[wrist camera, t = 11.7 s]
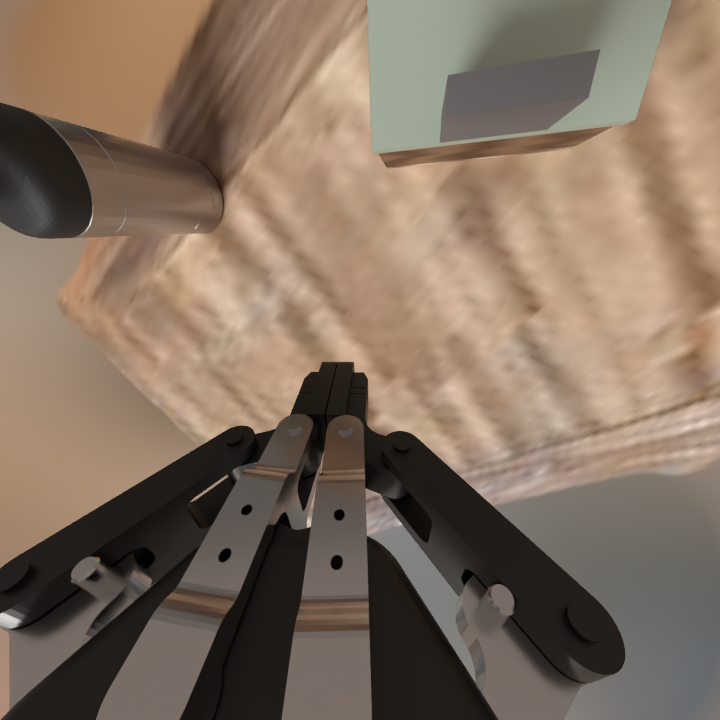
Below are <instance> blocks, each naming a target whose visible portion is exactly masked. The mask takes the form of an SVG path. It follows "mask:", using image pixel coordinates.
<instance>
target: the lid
mask: <svg viewBox="0 0 720 720" xmlns="http://www.w3.org/2000/svg"><path fill="white" fill-rule="evenodd" d="M671 2H672V0H367V5H368V40H369V76H370V112H371V147H372V152H373V154H380V153H389V152H397V151H406V150H414V149H423V148H431V147H439V146H448V145H456V144H465V143H473V142H482V141H490V140H499V139H507V138H516V137H524V136H533V135H541V134H549V133H558V132H566V131H575V130H583V129H592V128H600V127H609V126H617V125H625V124H627V123H629V122H631V121H633V120H635V119H636V116H637V113H638V110H639V106H640V103H641V100H642V97H643V93H644V90H645V87H646V84H647V80H648V77H649V74H650V71H651V67H652V64H653V61H654V58H655V54H656V51H657V48H658V45H659V41H660V38H661V35H662V32H663V28H664V25H665V22H666V19H667V15H668V12H669V9H670V6H671Z"/></svg>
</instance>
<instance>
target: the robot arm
mask: <svg viewBox="0 0 720 720" xmlns="http://www.w3.org/2000/svg"><path fill="white" fill-rule="evenodd" d="M222 212H223V200H222V194H221V191H220V188H219V186H218V184H217V181H216V179H215V178H214V176H213V175H212V173H211V172H210V171H209V170H208V169H207V168H206V167H205V166H204V165H203V164H201V163H200V162H199V161H197V160H194V159H192V158H189V157H185V156H182V155H179V154H175V153H172V152H169V151H165V150H162V149H159V148H155V147H152V146H148V145H145V144H141V143H138V142H134V141H131V140H127V139H124V138H121V137H117V136H114V135H110V134H107V133H103V132H99V131H96V130H93V129H89V128H86V127H82V126H79V125H76V124H72V123H69V122H65V121H61V120H58V119H54V118H51V117H48V116H44V115H40V114H37V113H33V112H30V111H26V110H24V109H21V108H17V107H13V106H10V105H7V104H3V103H0V222H2V223H3V224H5V225H6V226H8V227H10V228H11V229H13V230H15V231H17V232H20V233H22V234H24V235H28V236H32V237H37V238H49V239H50V238H51V239H52V238H81V237H105V236H135V235H165V234H195V233H207V232H210V231H212V230H213V229H215V228H216V226H217V225H218V224H219V222H220V220H221V217H222ZM367 415H368V379H367V377H366V375H365V374H364V373H355V372H354V362H322V364H321V367H320V370H319V372H311V373H310V374H309V375H308V376H307V377H305V379H304V381H303V384H302V387H301V389H300V391H299V394H298V396H297V399H296V401H295V404H294V407H293V409H292V412H291V414H290V416H287V417H285V418H284V419H283V420H281V421H280V423H279V424H278V426H277V427H276V429H274V430H271V431H267V432H262V433H258V434H255V433H254V431H253V429H251V428H250V427H248V426H236V427H233V428H230V429H228V430H226V431H225V432H223V433H221V434H220V435H218V436H216V437H215V438H213V439H211V440H210V441H208V442H206V443H205V444H203V445H201V446H200V447H198V448H196V449H195V450H193V451H191V452H190V453H188V454H186V455H185V456H183V457H181V458H180V459H178V460H176V461H175V462H173V463H172V464H170V465H168V466H167V467H165V468H163V469H162V470H160V471H158V472H157V473H155V474H153V475H152V476H150V477H148V478H147V479H145V480H143V481H142V482H140V483H138V484H137V485H135V486H133V487H132V488H130V489H128V490H127V491H125V492H123V493H122V494H120V495H119V496H117V497H115V498H113V499H112V500H110V501H108V502H107V503H105V504H103V505H102V506H100V507H98V508H97V509H95V510H94V511H92V512H90V513H89V514H87V515H85V516H83V517H82V518H80V519H79V520H77V521H75V522H74V523H72V524H70V525H69V526H67V527H65V528H64V529H62V530H60V531H59V532H57V533H55V534H54V535H52V536H50V537H49V538H47V539H45V540H44V541H42V542H40V543H39V544H37V545H35V546H34V547H32V548H31V549H29V550H27V551H25V552H24V553H22V554H20V555H19V556H17V557H16V558H14V559H12V560H11V561H9V562H8V563H7V564H5V565H4V566H3V567H1V568H0V627H1V628H2V629H3V630H6V631H8V632H9V634H10V711H9V712H8V713H7V714H6V715H5V716H4V717H3V718H2V719H1V720H564V718H565V716H566V714H567V712H568V710H569V708H570V706H571V704H572V702H573V700H574V698H575V696H576V694H577V692H578V690H579V688H580V687H582V686H585V685H587V684H590V683H592V682H595V681H597V680H600V679H603V678H605V677H607V676H610V675H613V674H615V673H617V672H618V671H619V670H620V669H621V668H622V666H623V664H624V661H625V648H624V643H623V640H622V637H621V634H620V632H619V630H618V628H617V626H616V624H615V622H614V621H613V619H612V617H611V616H610V615H609V613H608V612H607V611H606V610H605V609H604V607H603V606H602V605H601V604H600V603H599V602H598V601H597V600H596V599H595V598H594V597H593V596H592V595H591V594H590V593H588V592H587V591H586V590H585V589H584V588H583V587H582V586H581V585H579V584H578V583H577V582H576V581H575V580H574V579H573V578H572V577H571V576H569V575H568V574H567V573H566V572H565V571H564V570H563V569H562V568H561V567H560V566H558V565H557V564H556V563H555V562H554V561H553V560H552V559H551V558H550V557H548V556H547V555H546V554H545V553H544V552H543V551H542V550H541V549H539V548H538V547H537V546H536V545H535V544H534V543H533V542H532V541H531V540H530V539H529V538H527V537H526V536H525V535H524V534H523V533H522V532H520V530H519V529H517V528H516V527H515V526H514V525H513V524H512V523H511V522H510V521H508V520H507V519H506V518H505V517H504V516H503V515H502V514H501V513H500V512H498V511H497V510H496V509H495V508H494V507H493V506H492V505H491V504H490V503H489V502H487V501H486V500H485V499H484V498H483V497H482V496H481V495H480V494H479V493H477V492H476V491H475V490H474V489H473V488H472V487H471V486H470V485H469V484H467V483H466V482H465V481H464V480H463V479H462V478H461V477H460V476H459V475H458V474H456V473H455V472H454V471H453V470H452V469H451V468H450V467H449V466H448V465H446V464H445V463H444V462H443V461H442V460H441V459H440V458H439V457H438V456H436V455H435V454H434V453H433V452H432V451H431V450H430V449H429V448H428V447H426V446H425V445H424V444H423V443H422V442H421V441H420V440H419V439H418V438H416V437H415V436H414V435H412V434H410V433H408V432H404V431H396V432H392V433H390V434H388V435H387V436H383V435H380V434H378V433H375V432H373V431H372V430H371V429H370V428H369V427H368V426H367ZM323 454H324V457H323V466H322V472H321V466H320V464H321V460H322V455H323ZM320 472H321V474H320ZM225 475H228V478H226V479H225V480H223V481H222V482H221V483H219V484H218V485H216V486H215V487H214V488H213V489H211V490H209V491H208V492H207V493H205V494H204V495H202V496H201V497H200V498H198V499H197V500H195V501H193V502H190V501H191V500H192V499H193V498H194V497H196V496H197V495H199V494H200V493H202V492H203V491H204V490H206V489H207V488H209V487H210V486H211V485H213V484H214V483H215V482H217V481H218V480H220V479H221V478H223V477H224V476H225ZM365 488H367V489H369V490H372V491H374V492H377V493H379V494H381V496H382V498H383V500H384V501H385V503H386V504H387V505H388V506H389V508H390V509H391V510H392V512H393V513H394V514H395V515H396V517H397V518H398V519H399V521H400V522H401V523H402V524H403V526H404V527H405V528H406V530H407V531H408V532H409V533H410V535H411V536H412V537H413V539H414V540H415V541H416V542H417V544H418V545H419V546H420V548H421V549H422V550H423V551H424V553H425V554H426V555H427V557H428V558H429V559H430V560H431V562H432V563H433V564H434V566H435V567H436V568H437V569H438V571H439V572H440V573H441V575H442V576H443V577H444V578H445V580H446V581H447V582H448V584H449V585H450V586H451V587H452V588H453V590H454V591H455V593H456V594H457V595H458V596H459V598H458V601H457V604H456V609H455V619H456V624H457V627H458V630H459V633H460V635H461V637H462V639H463V641H464V643H465V644H466V646H467V648H468V650H469V652H470V655H471V657H472V660H473V664H474V668H475V677H476V683H475V682H474V680H473V679H472V677H471V675H470V674H469V672H468V671H467V669H466V668H465V666H464V664H463V663H462V661H461V660H460V658H459V657H458V655H457V654H456V652H455V650H454V649H453V647H452V646H451V644H450V643H449V641H448V639H447V638H446V636H445V635H444V633H443V632H442V630H441V629H440V627H439V625H438V624H437V622H436V621H435V619H434V618H433V616H432V614H431V613H430V611H429V610H428V608H427V607H426V605H425V604H424V602H423V600H422V599H421V597H420V596H419V594H418V593H417V591H416V589H415V588H414V586H413V585H412V583H411V582H410V580H409V579H408V577H407V575H406V574H405V572H404V571H403V569H402V568H401V566H400V564H399V563H398V562H397V560H396V559H395V557H394V556H393V555H392V554H391V553H390V552H389V551H388V550H387V549H386V548H385V547H384V546H383V545H381V544H380V543H379V542H377V541H376V540H374V539H372V538H370V537H368V536H367V528H366V493H365ZM315 489H316V492H315ZM314 492H315V500H314V507H313V515H312V522H311V527H309V528H307V517H308V513H309V509H310V506H311V503H312V499H313V496H314ZM161 577H162V578H161ZM160 578H161V579H160ZM155 582H156V583H155ZM154 583H155V584H154ZM153 584H154V585H153Z"/></svg>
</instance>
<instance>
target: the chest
mask: <svg viewBox="0 0 720 720" xmlns="http://www.w3.org/2000/svg"><path fill="white" fill-rule="evenodd" d="M611 127H613V126H609V127H600V128H592V129H583V130H575V131H566V132H558V133H549V134H541V135H533V136H524V137H516V138H507V139H499V140H490V141H482V142H473V143H465V144H456V145H448V146H439V147H431V148H423V149H414V150H406V151H397V152H389V153H380V154H379V156H380V157H381V159H382V161H383V162H384V164H385V165H386V167H387V169H388V168H397V167H407V166H416V165H426V164H435V163H445V162H454V161H464V160H473V159H482V158H492V157H501V156H511V155H520V154H530V153H539V152H548V151H558V150H567V149H570V148H572V147H574V146H576V145H578V144H580V143H582V142H584V141H586V140H588V139H590V138H592V137H593V136H595V135H597V134H599V133H601V132H603V131H605V130H607V129H609V128H611Z"/></svg>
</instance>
